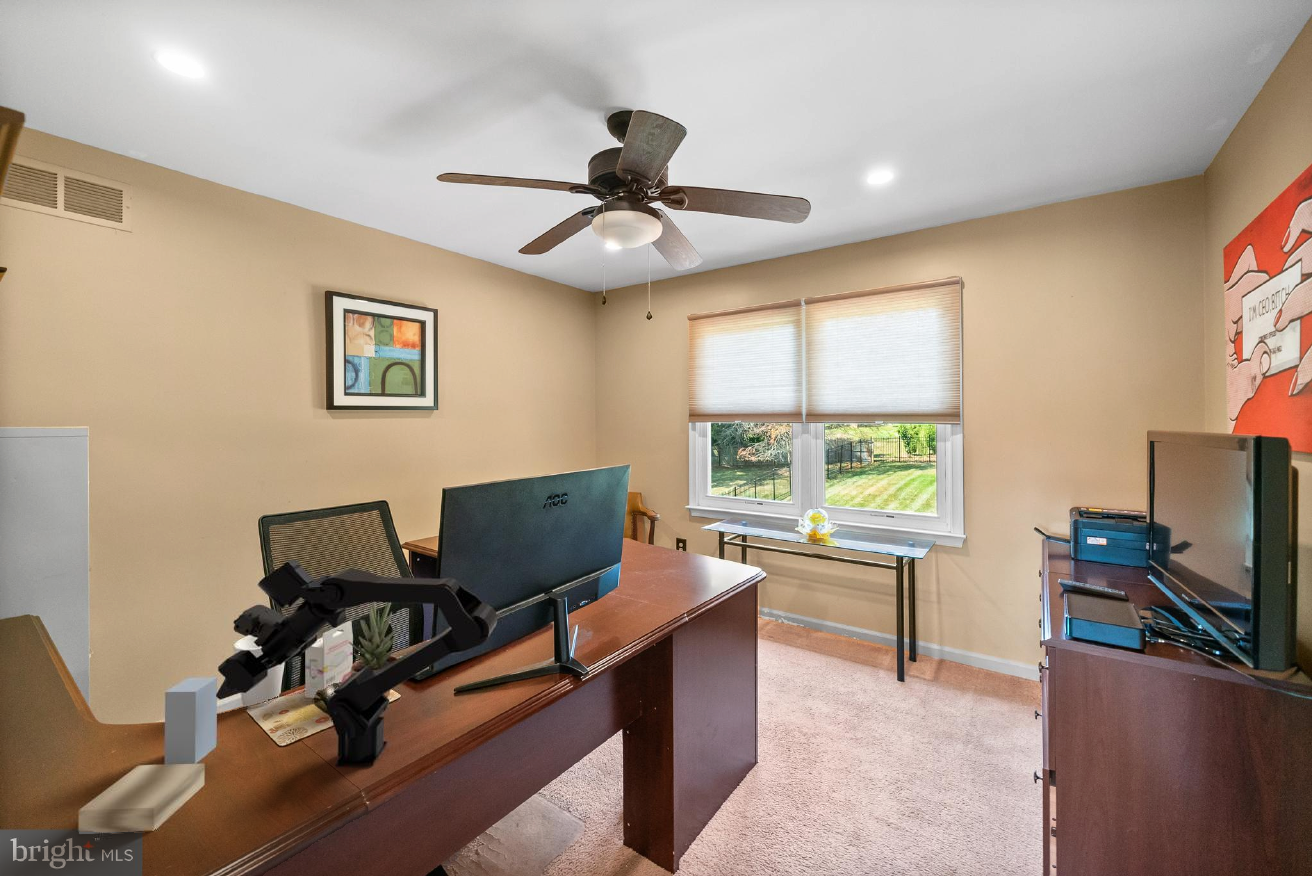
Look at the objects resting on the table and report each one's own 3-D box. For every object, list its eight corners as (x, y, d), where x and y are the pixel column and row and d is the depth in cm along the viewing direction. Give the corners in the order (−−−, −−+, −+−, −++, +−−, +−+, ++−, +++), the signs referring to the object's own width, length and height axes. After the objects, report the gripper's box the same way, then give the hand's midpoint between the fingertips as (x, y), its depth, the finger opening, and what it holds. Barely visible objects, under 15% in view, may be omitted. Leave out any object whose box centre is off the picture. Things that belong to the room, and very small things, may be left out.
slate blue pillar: (216, 746, 97) (217, 677, 97) (195, 763, 92) (195, 691, 92) (187, 746, 97) (188, 677, 96) (164, 764, 92) (165, 691, 92)
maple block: (204, 786, 87) (204, 763, 87) (153, 833, 78) (153, 807, 77) (138, 788, 86) (138, 765, 86) (78, 836, 76) (78, 810, 76)
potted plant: (396, 681, 123) (398, 577, 123) (401, 700, 115) (403, 589, 114) (346, 691, 118) (348, 583, 117) (348, 712, 110) (350, 596, 109)
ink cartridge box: (334, 679, 123) (335, 617, 123) (353, 681, 122) (354, 619, 122) (303, 697, 115) (304, 631, 114) (322, 700, 114) (323, 634, 113)
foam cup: (296, 687, 119) (297, 631, 118) (273, 709, 110) (273, 648, 109) (249, 689, 117) (250, 632, 117) (222, 712, 108) (223, 650, 108)
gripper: (302, 577, 104) (243, 631, 104) (231, 611, 85) (159, 677, 85) (342, 617, 104) (284, 671, 104) (280, 660, 86) (209, 725, 86)
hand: (238, 683), depth 95 cm, fingers open, 9 cm apart
